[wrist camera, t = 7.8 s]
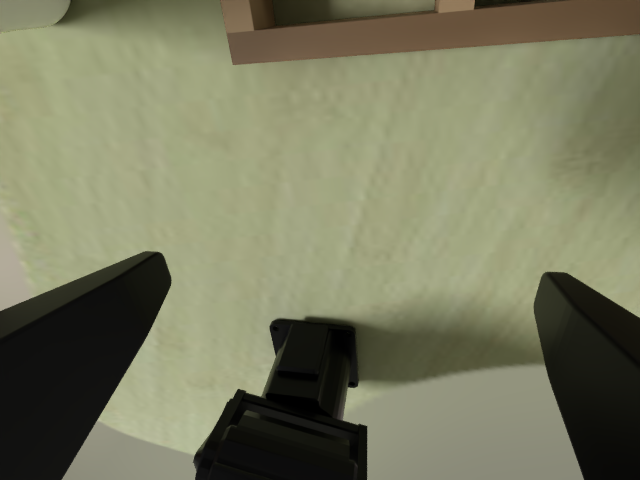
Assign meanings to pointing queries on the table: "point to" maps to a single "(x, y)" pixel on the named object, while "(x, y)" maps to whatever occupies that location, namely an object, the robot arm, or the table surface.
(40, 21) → the drinking glass
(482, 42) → the socket block
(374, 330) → the table surface
